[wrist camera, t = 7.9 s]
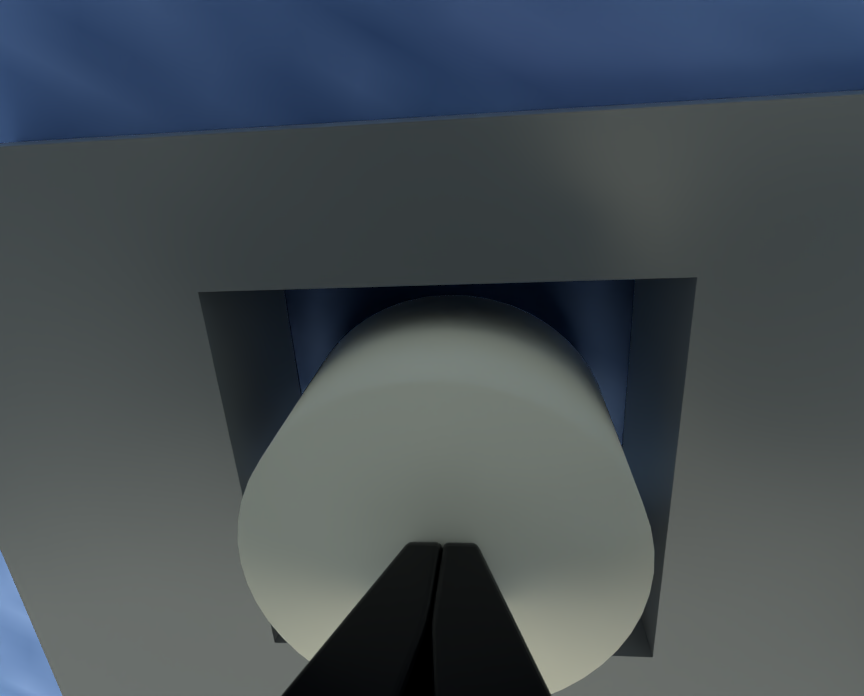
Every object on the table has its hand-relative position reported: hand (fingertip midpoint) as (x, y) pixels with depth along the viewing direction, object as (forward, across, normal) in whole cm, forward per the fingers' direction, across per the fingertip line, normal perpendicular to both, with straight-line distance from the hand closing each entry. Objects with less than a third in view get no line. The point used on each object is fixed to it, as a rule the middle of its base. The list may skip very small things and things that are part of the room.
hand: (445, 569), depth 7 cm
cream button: (+3, 0, 0) cm, 3 cm away
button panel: (+4, 0, +9) cm, 10 cm away
